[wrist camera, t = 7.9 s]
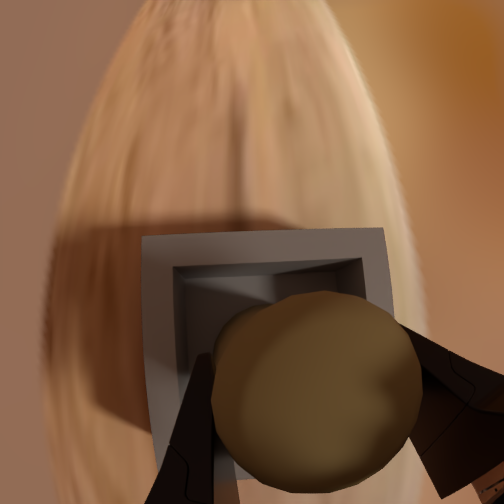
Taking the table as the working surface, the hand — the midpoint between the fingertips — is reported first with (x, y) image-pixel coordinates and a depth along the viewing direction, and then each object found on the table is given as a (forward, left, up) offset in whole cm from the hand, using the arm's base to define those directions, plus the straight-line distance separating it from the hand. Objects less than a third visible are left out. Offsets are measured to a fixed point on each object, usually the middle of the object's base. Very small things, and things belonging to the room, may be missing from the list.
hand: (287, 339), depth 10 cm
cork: (-1, +1, -7) cm, 7 cm away
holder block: (-1, +1, -9) cm, 9 cm away
